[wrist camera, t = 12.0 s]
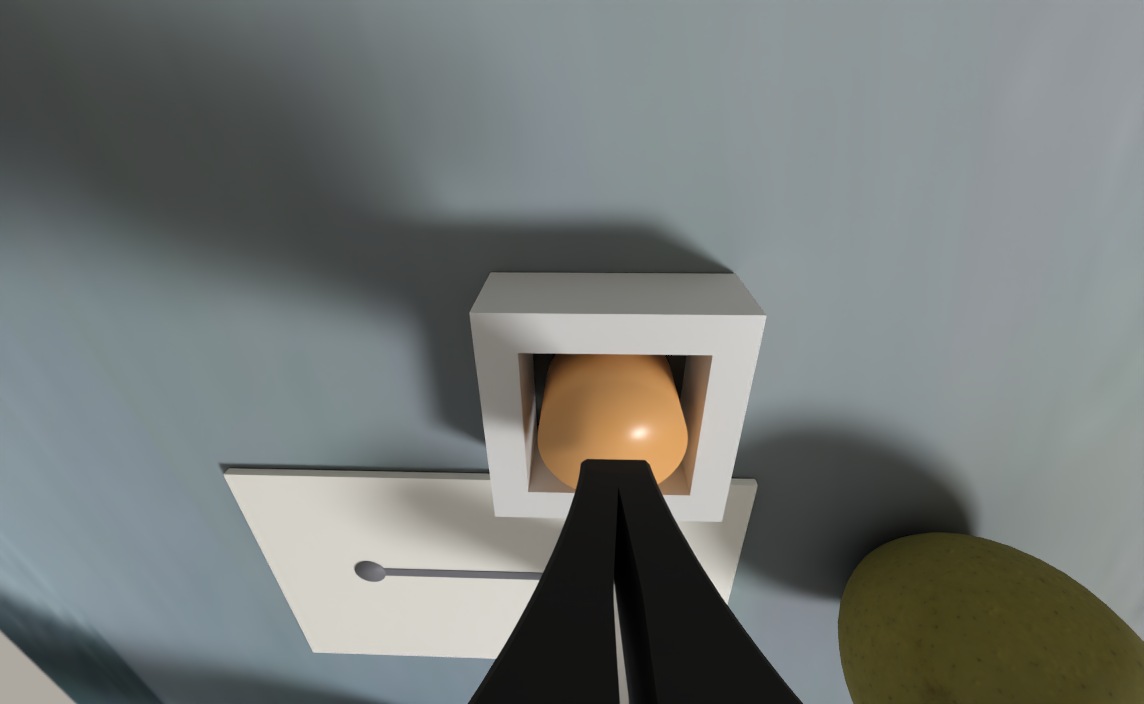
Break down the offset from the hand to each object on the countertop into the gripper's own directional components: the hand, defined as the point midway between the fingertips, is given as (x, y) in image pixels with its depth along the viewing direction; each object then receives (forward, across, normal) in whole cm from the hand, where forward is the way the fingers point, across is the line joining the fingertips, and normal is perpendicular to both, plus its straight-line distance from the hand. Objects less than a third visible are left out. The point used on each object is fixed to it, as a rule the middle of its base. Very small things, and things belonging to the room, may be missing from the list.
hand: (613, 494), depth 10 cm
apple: (+5, -12, +8) cm, 15 cm away
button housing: (+4, 0, 0) cm, 5 cm away
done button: (+4, 0, 0) cm, 4 cm away
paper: (+5, +4, +9) cm, 11 cm away
